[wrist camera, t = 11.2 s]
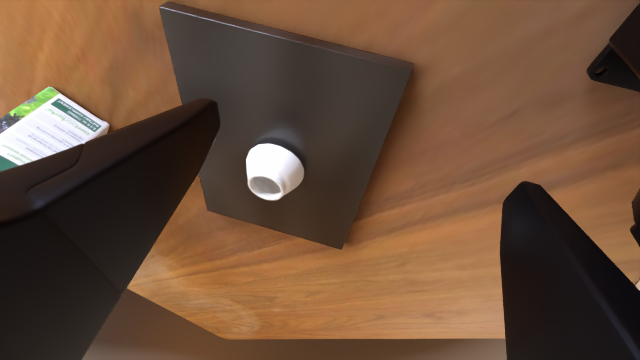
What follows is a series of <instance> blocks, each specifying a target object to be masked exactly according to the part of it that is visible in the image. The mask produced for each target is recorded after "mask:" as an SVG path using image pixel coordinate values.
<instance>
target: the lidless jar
mask: <svg viewBox="0 0 640 360" xmlns="http://www.w3.org/2000/svg"><path fill="white" fill-rule="evenodd" d="M246 166H247V177H248V186H249V188H250V190H251V191H252V192H253V193H254V194H255V195H257V196H259V197H260V198H263V199H266V200H278V199H280V198H281V197H283V195H285V194H288V193H289V192H290V191H292V190H293V189H295V188H296V187H297V186H298V185H299V184H300V183H301V182H302V180H303V178H304V168H303V166H302V164H301V161H300V160H299V159H298V158H297V157H296V156H295V155H294V154H293V153H292V152H290V151H289V150H287V149H285V148H283V147H281V146H277V145H273V144H260V145H257V146H255V147H254V148H252V149H251V150H250V152H249V154H248V156H247V158H246Z"/></svg>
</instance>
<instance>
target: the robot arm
mask: <svg viewBox="0 0 640 360" xmlns="http://www.w3.org/2000/svg"><path fill="white" fill-rule="evenodd" d="M602 67H605V68H604V70H602V71H601V72H599V73H595V72H596V71H597V70H598V69H599V68H602ZM587 74H588V76H589V77H590V79H592V80H594V81H598V82H602V83H606V84H610V85H614V86H618V87H622V88H626V89H630V90H634V91H638V92H640V3H639V5H638V6H637V7H636V8H635V9H634V10H633V12H632V13H631V14H630V15H629V16H628V18H627V19H626V20H625V21H624V22H623V23H622V25H621V26H620V27H619V28H618V29H617V31H616V32H615V33H614V34H613V35H612V36H611V38H610V39H609V43H608V45H607V46H606V47H605V48H604V49H603V50H602V52H601V53H600V54H599V55H598V56H597V57H596V59H595V60H594V61H593V62H592V63H591V64H590V66H589V67H588V69H587ZM219 129H220V116H219V109H218V104H217V102H216V101H215V100H212V99H208V98H199V99H197V100H194V101H191V102H189V103H186V104H184V105H181V106H178V107H176V108H173V109H170V110H168V111H165V112H163V113H160V114H157V115H155V116H152V117H150V118H147V119H144V120H142V121H139V122H137V123H134V124H131V125H129V126H126V127H123V128H121V129H118V130H116V131H113V132H110V133H108V134H105V135H103V136H100V137H97V138H95V139H92V140H89V141H87V142H85V144H83V143H81V144H79V145H76V146H74V147H71V148H68V149H66V150H63V151H60V152H58V153H55V154H52V155H49V156H47V157H44V158H41V159H38V160H35V161H32V162H28V163H25V164H22V165H19V166H16V167H13V168H10V169H7V170H3V171H0V360H82V358H83V357H84V355H85V353H86V352H87V350H88V349H89V347H90V346H91V344H92V342H93V341H94V339H95V338H96V336H97V334H98V333H99V331H100V330H101V328H102V326H103V325H104V323H105V322H106V320H107V319H108V317H109V315H110V314H111V312H112V311H113V309H114V307H115V306H116V304H117V303H118V301H119V299H120V298H121V296H122V295H121V294H123V293H124V291H125V289H126V288H127V286H128V285H129V283H130V282H131V280H132V278H133V277H134V275H135V274H136V272H137V270H138V269H139V267H140V266H141V264H142V262H143V261H144V259H145V258H146V256H147V254H148V253H149V251H150V250H151V248H152V246H153V245H154V243H155V242H156V240H157V238H158V237H159V235H160V234H161V232H162V231H163V229H164V227H165V226H166V224H167V223H168V221H169V219H170V218H171V216H172V215H173V213H174V211H175V210H176V208H177V207H178V205H179V203H180V202H181V200H182V199H183V197H184V195H185V194H186V192H187V191H188V189H189V187H190V186H191V184H192V183H193V181H194V179H195V178H196V176H197V175H198V173H199V171H200V170H201V168H202V166H203V164H204V162H205V160H206V157H207V155H208V153H209V151H210V149H211V147H212V145H213V142H214V140H215V138H216V136H217V134H218V132H219ZM632 208H633V217H634V221H635V224H634V225H633V226H632V227H631V228H630V232H631V233H632V235H633V237H634V238H635V240H636V242H637V243H638V245H639V246H640V189H639V191H638V192H637V194H636V196H635V198H634V199H633V201H632ZM500 263H501V278H502V293H503V307H504V322H505V337H506V352H507V360H640V290H639V289H638V288H637V287H636V286H635V285H634V284H633V283H632V282H631V281H630V280H629V279H628V278H627V277H626V276H625V275H624V273H623V272H622V271H621V270H620V269H619V268H618V267H617V266H616V265H615V264H614V263H613V262H612V261H611V260H610V259H609V258H608V257H607V255H606V254H605V253H604V252H603V251H602V250H601V249H600V248H599V247H598V246H597V245H596V244H595V243H594V242H593V241H592V240H591V239H590V237H589V236H588V235H587V234H586V233H585V232H584V231H583V230H582V229H581V228H580V227H579V226H578V225H577V224H576V223H575V222H574V220H573V219H572V218H571V217H570V216H569V215H568V214H567V213H566V212H565V211H564V210H563V209H562V208H561V207H560V206H559V205H558V204H557V202H556V201H555V200H554V199H553V198H552V197H551V196H550V195H549V194H548V193H547V192H546V191H545V190H544V189H543V188H542V187H541V186H540V185H538V184H535V183H531V182H527V181H523V182H521V183H520V184H519V185H518V186H517V187H516V188H515V189H514V190H513V191H512V192H511V193H510V194H509V195H508V196H507V197H506V199H505V200H504V203H503V208H502V224H501V240H500Z"/></svg>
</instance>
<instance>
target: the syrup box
mask: <svg viewBox="0 0 640 360" xmlns="http://www.w3.org/2000/svg"><path fill="white" fill-rule="evenodd" d="M109 126H110V125H109V124H108V123H107V122H105V121H102V120H100V119H99V118H97V117H96V116H94V115H92V114H91V113H89V112H88V111H86V110H85V109H83V108H82V107H80V106H79V105H77V104H76V103H74V102H73V101H71V100H70V99H68V98H67V97H65V96H64V95H62V94H61V93H59V92H58V91H57V90H55V89H54V88H52V87H48V88H46V89H44V90H43V91H41V92H40V93H38V94H37V95H35V96H34V97H32V98H31V99H29V100H28V101H26V102H24V103H23V104H21V105H20V106H19V107H17V108H15V109H14V110H12V111H11V112H9V113H7V114H6V115H5V116H3V117H2V118H0V171H3V170H7V169H10V168H13V167H16V166H19V165H22V164H25V163H28V162H32V161H35V160H38V159H41V158H44V157H47V156H49V155H52V154H55V153H58V152H60V151H63V150H66V149H68V148H71V147H74V146H76V145H79V144H81V143H83V144H85V142H87V141H89V140H92V139H95V138H97V137H100V136H103V135H105V134H107V132H108V129H109Z"/></svg>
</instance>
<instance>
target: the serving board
mask: <svg viewBox="0 0 640 360" xmlns="http://www.w3.org/2000/svg"><path fill="white" fill-rule="evenodd" d="M159 9H160V14H161V18H162V22H163V26H164V30H165V35H166V39H167V43H168V47H169V51H170V55H171V60H172V64H173V68H174V72H175V76H176V81H177V85H178V89H179V93H180V97H181V101H182V105H184V104H186V103H189V102H191V101H194V100H197V99H199V98H208V99H212V100H215V101H216V102H217V104H218V109H219V116H220V129H219V132H218V134H217V136H216V138H215V140H214V142H213V145H212V147H211V149H210V151H209V153H208V155H207V157H206V160H205V162H204V164H203V166H202V168H201V170H200V171H199V177H200V181H201V185H202V189H203V193H204V198H205V202H206V206H207V210H208V211H211V212H214V213H217V214H221V215H224V216H228V217H231V218H235V219H238V220H241V221H245V222H248V223H252V224H255V225H259V226H262V227H265V228H269V229H272V230H276V231H279V232H283V233H286V234H289V235H293V236H296V237H300V238H303V239H306V240H310V241H313V242H317V243H320V244H324V245H327V246H330V247H334V248H337V249H341V250H342V248H343V246H344V243H345V240H346V238H347V235H348V233H349V230H350V228H351V225H352V223H353V220H354V218H355V215H356V213H357V210H358V207H359V205H360V202H361V200H362V197H363V195H364V192H365V190H366V187H367V185H368V182H369V180H370V177H371V174H372V172H373V169H374V167H375V164H376V162H377V159H378V157H379V154H380V152H381V149H382V147H383V144H384V141H385V139H386V136H387V134H388V131H389V129H390V126H391V124H392V121H393V119H394V116H395V114H396V111H397V108H398V106H399V103H400V101H401V98H402V96H403V93H404V91H405V88H406V86H407V83H408V81H409V78H410V75H411V73H412V67H413V63H409V62H405V61H401V60H397V59H394V58H390V57H386V56H382V55H378V54H374V53H370V52H366V51H362V50H358V49H354V48H350V47H346V46H342V45H338V44H334V43H330V42H326V41H322V40H318V39H314V38H310V37H306V36H302V35H298V34H294V33H290V32H286V31H283V30H279V29H275V28H271V27H267V26H263V25H259V24H255V23H251V22H247V21H243V20H239V19H235V18H231V17H227V16H223V15H219V14H215V13H211V12H207V11H203V10H199V9H195V8H191V7H187V6H183V5H179V4H175V3H171V2H166V3H164V4H163V5H161V6H159ZM260 144H273V145H277V146H281V147H283V148H285V149H287V150H289V151H290V152H292V153H293V154H294V155H295V156H296V157H297V158H298V159H299V160H300V161H301V164H302V166H303V168H304V178H303V180H302V182H301V183H300V184H299V185H298V186H297V187H296V188H295V189H293V190H292V191H290V192H289V193H288V194H285V195H283V197H281V198H280V199H278V200H266V199H263V198H260V197H259V196H257V195H255V194H254V193H253V192H252V191H251V190H250V188H249V186H248V177H247V166H246V158H247V156H248V154H249V152H250V150H251V149H252V148H254V147H255V146H257V145H260Z"/></svg>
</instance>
